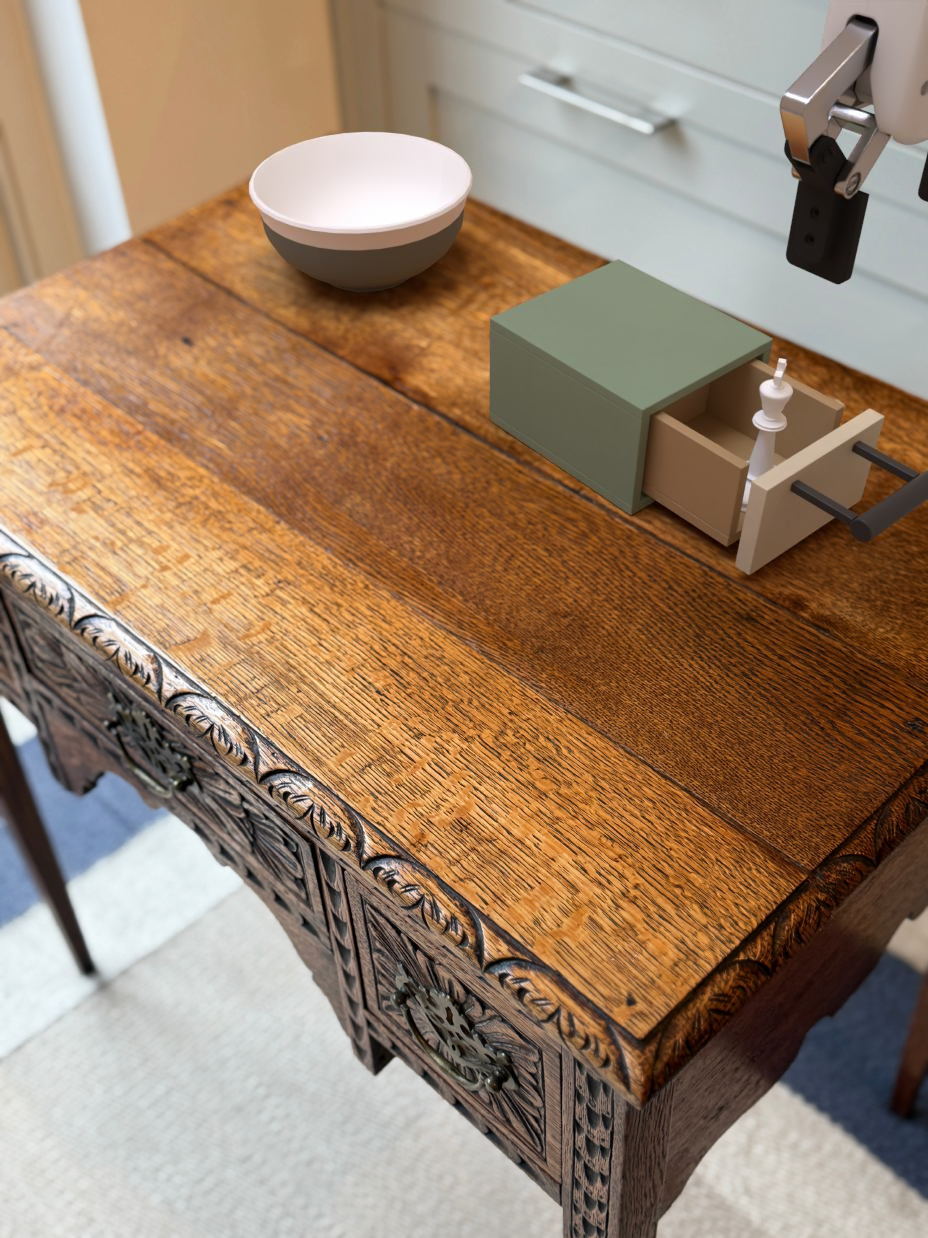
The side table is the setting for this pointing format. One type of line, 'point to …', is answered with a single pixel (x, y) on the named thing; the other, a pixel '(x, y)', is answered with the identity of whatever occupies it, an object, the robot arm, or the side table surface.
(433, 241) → the bowl
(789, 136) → the robot arm
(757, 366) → the drawer
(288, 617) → the side table surface
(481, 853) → the side table surface
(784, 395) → the chess piece
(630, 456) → the cabinet
